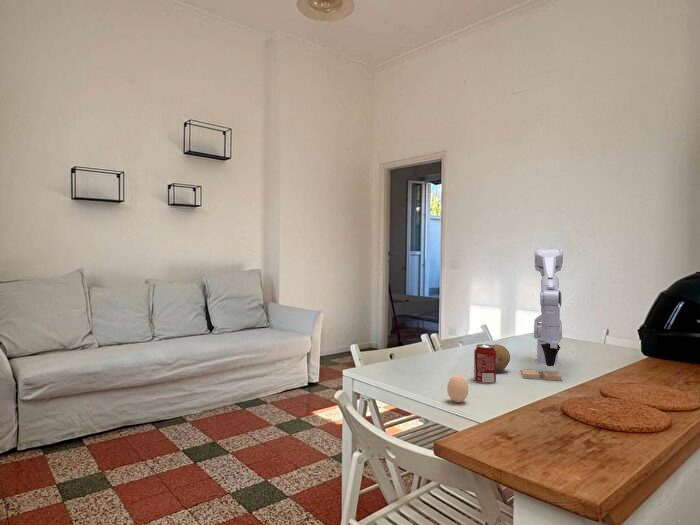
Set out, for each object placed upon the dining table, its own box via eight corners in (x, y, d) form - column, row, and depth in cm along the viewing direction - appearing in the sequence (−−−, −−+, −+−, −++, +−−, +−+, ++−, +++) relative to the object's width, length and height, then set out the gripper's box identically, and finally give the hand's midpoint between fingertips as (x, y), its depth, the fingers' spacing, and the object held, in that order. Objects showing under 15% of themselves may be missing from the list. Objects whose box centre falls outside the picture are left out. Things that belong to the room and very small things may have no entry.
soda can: (497, 386, 144) (497, 348, 144) (474, 384, 145) (475, 347, 145) (494, 380, 150) (494, 344, 150) (473, 379, 152) (473, 343, 152)
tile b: (541, 370, 156) (544, 375, 150) (557, 371, 154) (561, 376, 148) (541, 375, 156) (544, 379, 150) (557, 376, 154) (561, 380, 148)
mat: (519, 371, 162) (519, 370, 162) (556, 373, 159) (556, 372, 159) (523, 380, 151) (523, 378, 151) (563, 382, 148) (563, 381, 148)
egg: (462, 406, 123) (462, 378, 123) (443, 402, 127) (443, 375, 127) (472, 401, 128) (472, 374, 128) (453, 397, 131) (453, 371, 131)
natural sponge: (503, 377, 154) (503, 348, 154) (478, 372, 160) (478, 344, 160) (514, 372, 161) (514, 344, 161) (490, 368, 167) (490, 341, 167)
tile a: (521, 369, 157) (523, 373, 151) (537, 370, 156) (539, 374, 150) (521, 373, 157) (523, 378, 151) (537, 374, 156) (539, 379, 150)
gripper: (534, 322, 162) (534, 360, 162) (540, 328, 148) (540, 370, 148) (556, 323, 160) (555, 361, 160) (564, 329, 146) (564, 371, 146)
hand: (550, 365), depth 154 cm, fingers closed
